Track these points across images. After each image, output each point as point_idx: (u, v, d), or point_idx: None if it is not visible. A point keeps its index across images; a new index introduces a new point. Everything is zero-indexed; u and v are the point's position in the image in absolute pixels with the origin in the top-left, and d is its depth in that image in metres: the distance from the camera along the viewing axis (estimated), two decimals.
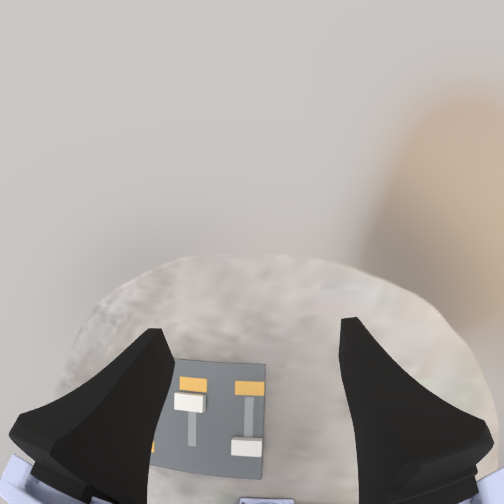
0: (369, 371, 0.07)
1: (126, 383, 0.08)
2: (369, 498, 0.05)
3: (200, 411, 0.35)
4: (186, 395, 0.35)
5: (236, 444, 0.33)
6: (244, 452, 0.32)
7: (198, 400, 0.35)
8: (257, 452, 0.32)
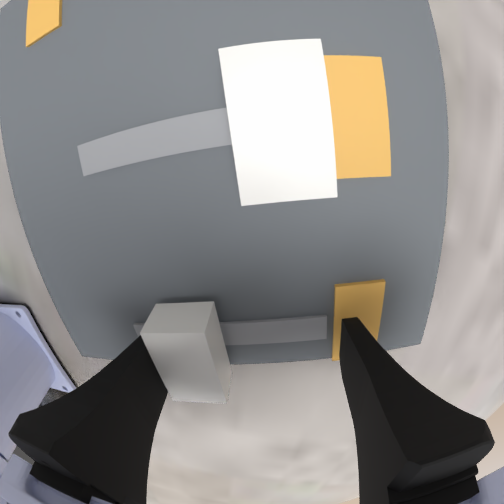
0: (370, 371, 0.07)
1: (125, 383, 0.08)
2: (370, 498, 0.05)
3: (246, 195, 0.07)
4: (324, 105, 0.06)
5: (190, 347, 0.10)
6: (167, 367, 0.10)
7: (309, 176, 0.07)
8: (183, 393, 0.11)
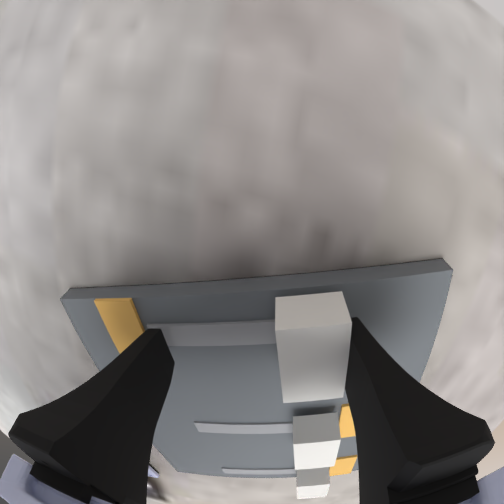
0: (370, 371, 0.07)
1: (125, 383, 0.08)
2: (370, 498, 0.05)
3: (297, 468, 0.14)
4: (335, 452, 0.13)
5: (320, 487, 0.16)
6: (303, 492, 0.16)
7: (324, 464, 0.13)
8: (305, 496, 0.17)
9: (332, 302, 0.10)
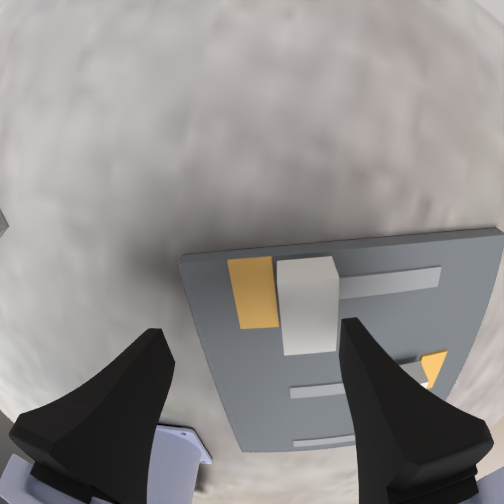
0: (369, 371, 0.07)
1: (126, 383, 0.08)
2: (369, 498, 0.05)
3: None
4: None
5: None
6: None
7: None
8: None
9: (323, 263, 0.12)
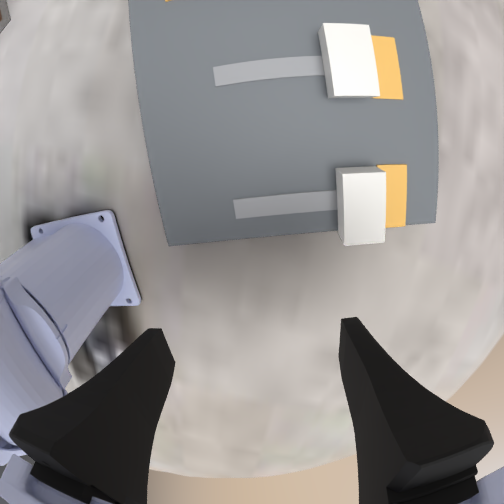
0: (369, 371, 0.07)
1: (126, 383, 0.08)
2: (369, 498, 0.05)
3: (337, 90, 0.12)
4: (371, 54, 0.11)
5: (374, 185, 0.14)
6: (353, 206, 0.15)
7: (366, 85, 0.12)
8: (356, 235, 0.15)
9: None
